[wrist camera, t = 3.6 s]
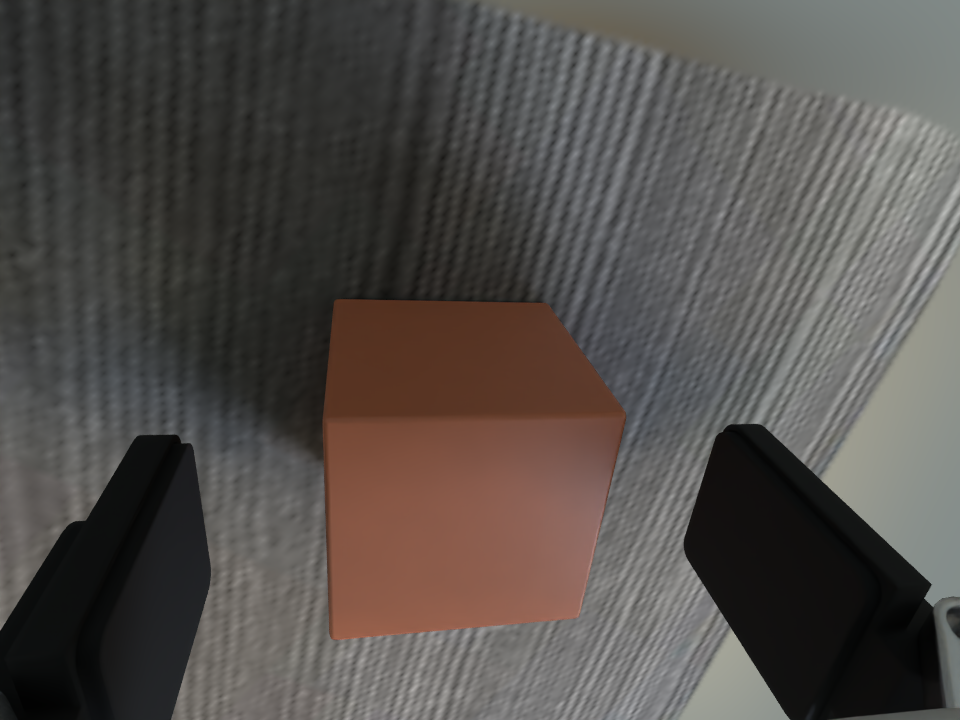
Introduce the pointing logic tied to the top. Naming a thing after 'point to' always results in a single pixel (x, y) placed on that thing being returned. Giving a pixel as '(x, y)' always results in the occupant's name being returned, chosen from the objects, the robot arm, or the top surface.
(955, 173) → the top surface
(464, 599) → the block
